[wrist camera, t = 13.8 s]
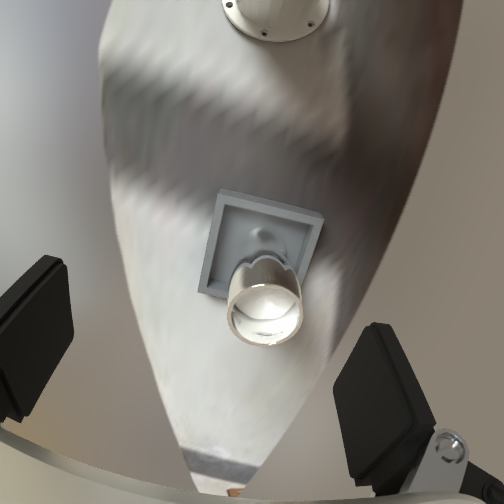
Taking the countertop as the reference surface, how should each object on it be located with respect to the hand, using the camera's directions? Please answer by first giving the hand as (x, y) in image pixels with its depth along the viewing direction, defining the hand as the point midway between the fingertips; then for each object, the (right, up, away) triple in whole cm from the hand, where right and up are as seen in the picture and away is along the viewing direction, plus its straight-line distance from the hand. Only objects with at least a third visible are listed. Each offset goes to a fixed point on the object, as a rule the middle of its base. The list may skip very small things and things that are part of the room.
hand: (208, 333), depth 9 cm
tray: (+2, +3, +32) cm, 33 cm away
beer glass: (+2, +3, +32) cm, 32 cm away
